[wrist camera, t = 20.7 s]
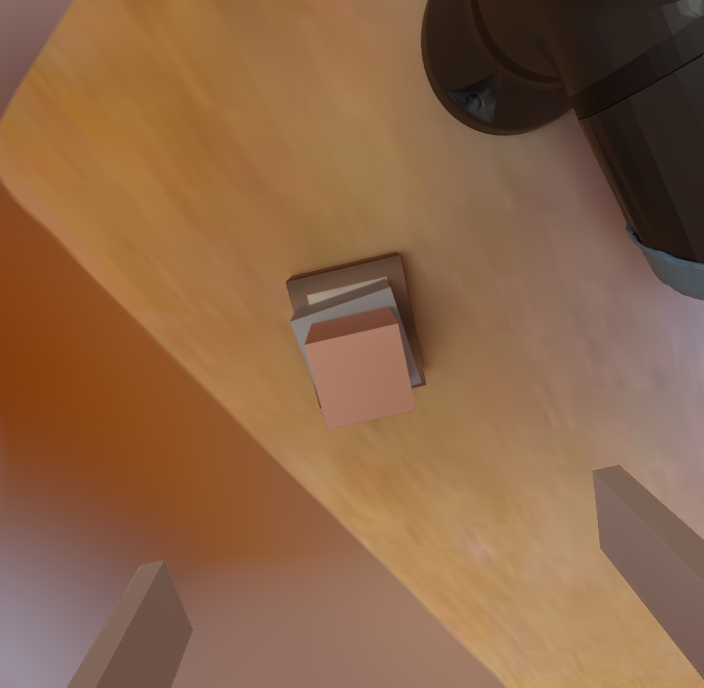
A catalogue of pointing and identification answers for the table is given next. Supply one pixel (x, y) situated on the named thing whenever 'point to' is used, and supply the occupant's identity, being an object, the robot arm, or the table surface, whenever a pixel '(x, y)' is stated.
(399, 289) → the plinth
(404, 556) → the table surface
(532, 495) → the table surface
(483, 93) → the robot arm
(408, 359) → the slate block
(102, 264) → the table surface
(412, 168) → the table surface
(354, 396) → the terracotta cube
